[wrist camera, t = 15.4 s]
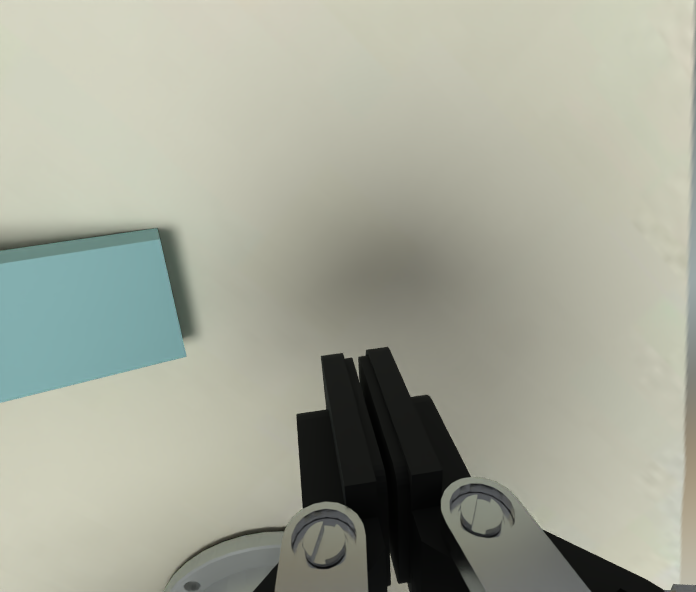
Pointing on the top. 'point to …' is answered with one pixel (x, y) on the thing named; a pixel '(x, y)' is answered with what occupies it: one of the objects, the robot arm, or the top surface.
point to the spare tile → (84, 312)
